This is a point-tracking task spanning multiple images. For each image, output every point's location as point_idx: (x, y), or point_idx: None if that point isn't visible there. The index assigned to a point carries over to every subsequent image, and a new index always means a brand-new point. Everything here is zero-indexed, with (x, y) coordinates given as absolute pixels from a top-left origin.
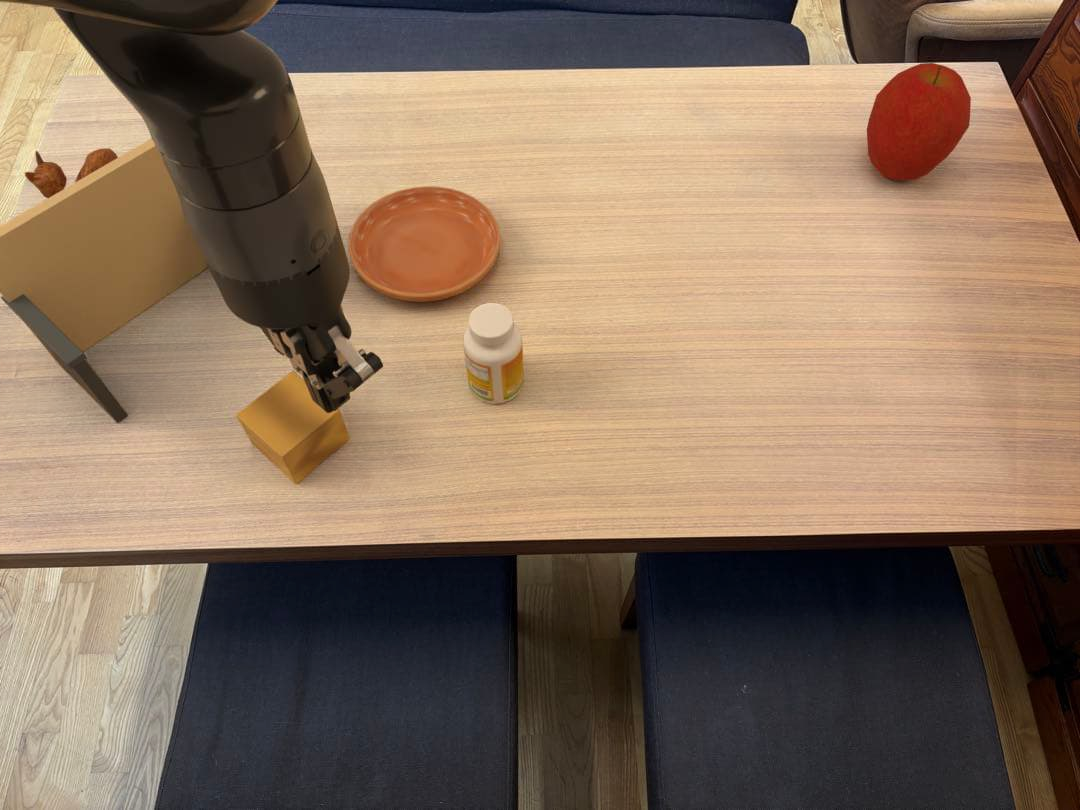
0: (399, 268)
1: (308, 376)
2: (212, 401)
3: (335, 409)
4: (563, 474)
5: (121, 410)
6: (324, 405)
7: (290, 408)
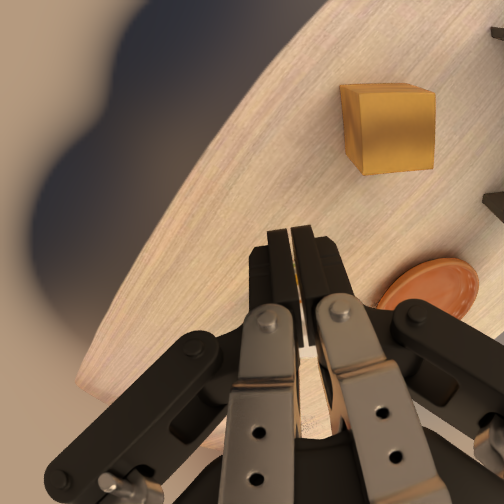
0: (432, 279)
1: (289, 326)
2: (462, 90)
3: (250, 255)
4: (190, 269)
5: (498, 36)
6: (269, 247)
7: (402, 138)
